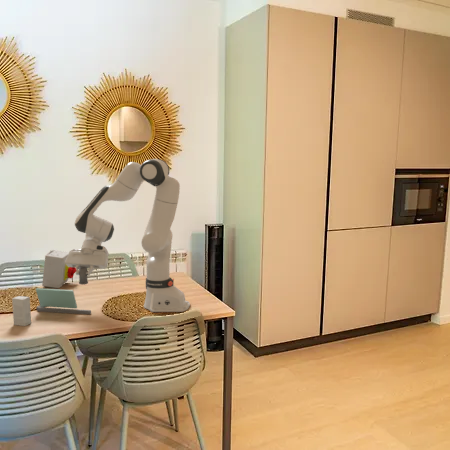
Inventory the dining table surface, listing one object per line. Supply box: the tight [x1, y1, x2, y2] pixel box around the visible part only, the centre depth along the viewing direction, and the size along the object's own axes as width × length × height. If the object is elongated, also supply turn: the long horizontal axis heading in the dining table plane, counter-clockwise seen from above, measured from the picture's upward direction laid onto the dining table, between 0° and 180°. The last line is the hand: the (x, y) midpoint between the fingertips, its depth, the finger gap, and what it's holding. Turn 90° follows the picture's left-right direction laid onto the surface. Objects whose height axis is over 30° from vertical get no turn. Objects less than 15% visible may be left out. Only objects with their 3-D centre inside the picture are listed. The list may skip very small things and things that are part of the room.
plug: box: [78, 267, 89, 285], centre depth 220 cm, size 4×4×8 cm
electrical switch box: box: [41, 249, 77, 289], centre depth 262 cm, size 15×15×20 cm
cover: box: [35, 287, 78, 309], centre depth 217 cm, size 18×10×1 cm
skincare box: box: [11, 295, 32, 327], centre depth 203 cm, size 6×4×12 cm
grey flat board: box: [36, 304, 92, 315], centre depth 224 cm, size 27×12×2 cm, turn 82°
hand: (82, 274), depth 220 cm, fingers closed on plug, 4 cm apart
